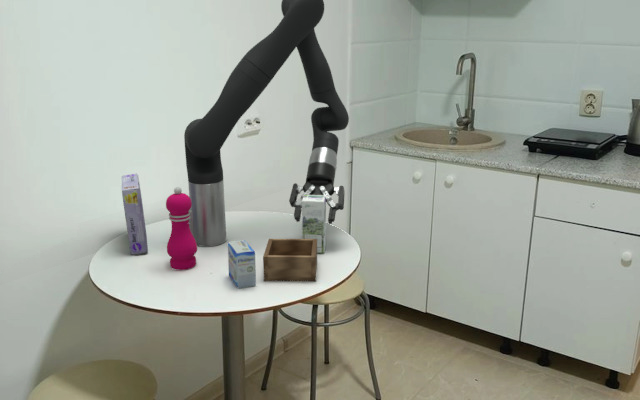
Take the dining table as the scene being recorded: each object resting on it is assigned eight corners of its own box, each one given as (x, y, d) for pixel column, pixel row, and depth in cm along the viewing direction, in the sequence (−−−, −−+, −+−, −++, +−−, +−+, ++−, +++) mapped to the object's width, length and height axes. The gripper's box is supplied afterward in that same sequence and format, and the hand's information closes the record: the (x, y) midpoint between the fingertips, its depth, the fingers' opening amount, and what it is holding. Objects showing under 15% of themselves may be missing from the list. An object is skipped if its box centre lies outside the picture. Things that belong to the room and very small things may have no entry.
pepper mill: (203, 261, 147) (198, 184, 142) (188, 272, 141) (182, 192, 135) (178, 258, 150) (172, 182, 144) (162, 268, 143) (155, 189, 137)
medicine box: (228, 276, 139) (226, 241, 136) (246, 273, 141) (245, 239, 138) (237, 289, 132) (236, 253, 130) (256, 286, 134) (255, 250, 131)
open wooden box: (263, 281, 136) (263, 256, 134) (269, 261, 148) (268, 238, 146) (315, 281, 136) (315, 257, 134) (317, 261, 147) (317, 238, 146)
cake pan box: (127, 232, 168) (121, 172, 163) (145, 230, 170) (140, 171, 165) (128, 256, 151) (121, 190, 146) (148, 254, 152) (142, 188, 147)
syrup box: (326, 246, 158) (326, 194, 154) (324, 254, 152) (324, 200, 148) (304, 245, 158) (304, 193, 154) (302, 253, 153) (301, 200, 148)
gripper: (294, 159, 158) (284, 213, 150) (346, 161, 155) (339, 216, 147) (298, 174, 164) (289, 226, 157) (349, 176, 161) (342, 229, 154)
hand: (313, 221), depth 152 cm, fingers open, 8 cm apart
